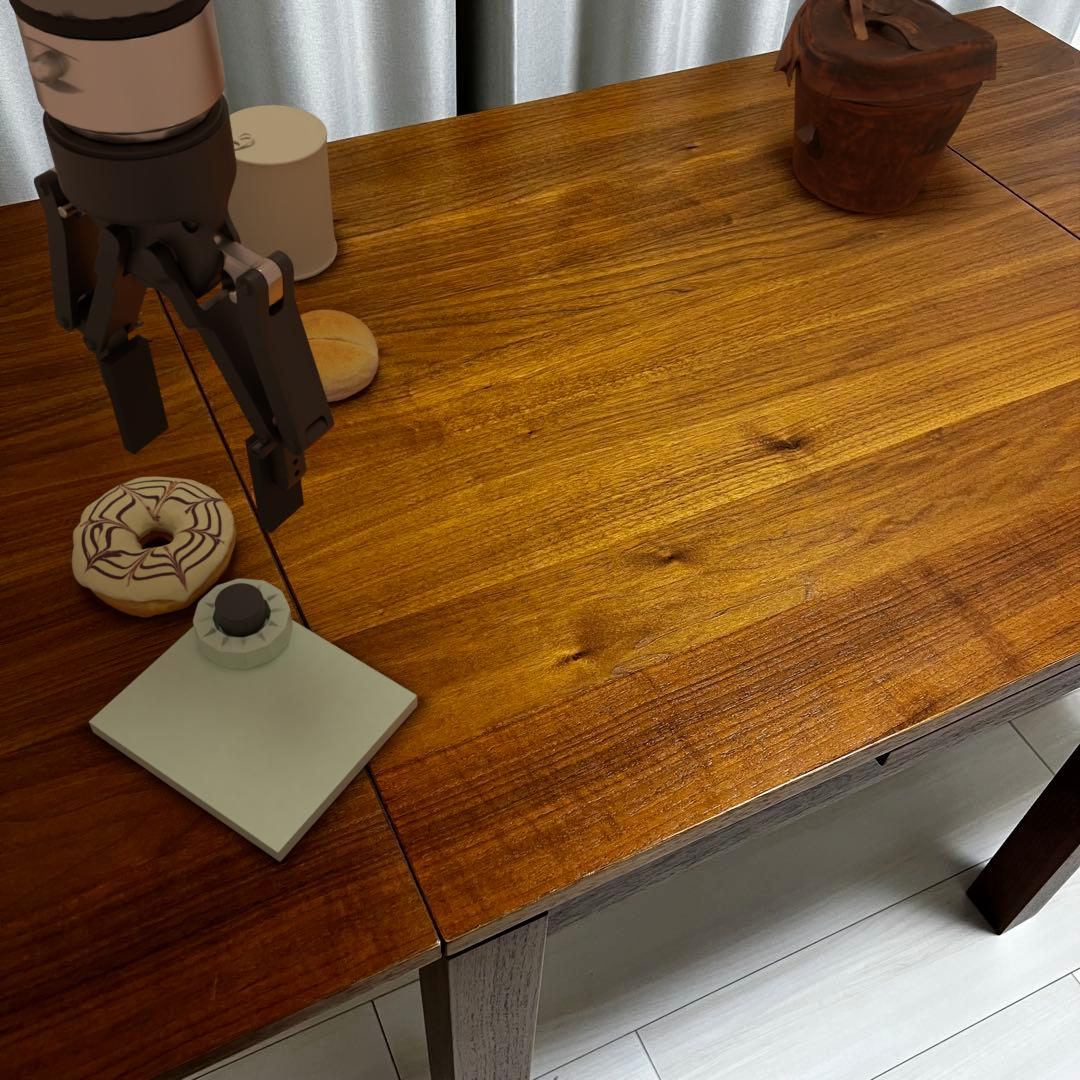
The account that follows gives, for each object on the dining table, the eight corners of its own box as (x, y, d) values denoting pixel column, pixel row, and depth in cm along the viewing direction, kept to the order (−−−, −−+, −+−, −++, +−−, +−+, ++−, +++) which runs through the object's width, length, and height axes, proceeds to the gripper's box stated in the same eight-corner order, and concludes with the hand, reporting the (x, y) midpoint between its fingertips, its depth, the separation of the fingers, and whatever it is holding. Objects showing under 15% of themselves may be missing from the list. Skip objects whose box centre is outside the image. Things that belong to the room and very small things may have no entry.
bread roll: (269, 407, 93) (263, 367, 90) (282, 333, 99) (277, 294, 96) (376, 409, 93) (373, 370, 90) (382, 336, 99) (380, 297, 96)
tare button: (208, 622, 76) (204, 605, 74) (241, 592, 77) (237, 575, 76) (244, 644, 75) (240, 627, 73) (276, 613, 76) (273, 596, 75)
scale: (92, 732, 73) (81, 705, 71) (244, 593, 81) (238, 564, 78) (280, 862, 68) (274, 837, 66) (422, 701, 76) (421, 674, 74)
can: (211, 245, 106) (190, 121, 97) (298, 210, 111) (285, 87, 102) (270, 296, 102) (253, 171, 93) (358, 257, 106) (350, 134, 97)
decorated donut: (55, 612, 79) (40, 576, 76) (114, 495, 86) (102, 458, 83) (210, 633, 78) (201, 597, 75) (256, 514, 85) (249, 477, 83)
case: (785, 111, 128) (824, -62, 114) (969, 164, 123) (1033, -11, 109) (728, 191, 117) (764, 10, 104) (927, 253, 112) (993, 71, 99)
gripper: (-119, 50, 51) (21, 431, 68) (276, 237, 44) (323, 611, 61) (21, -10, 55) (120, 362, 72) (401, 151, 48) (412, 522, 65)
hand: (213, 476), depth 66 cm, fingers open, 9 cm apart
